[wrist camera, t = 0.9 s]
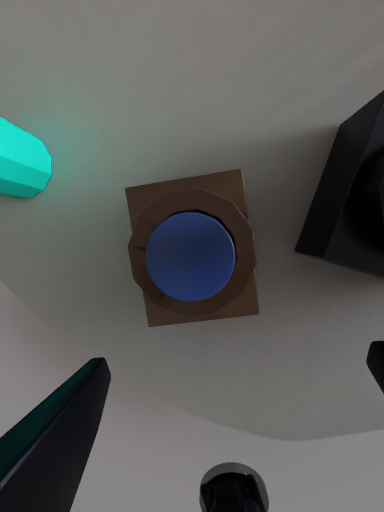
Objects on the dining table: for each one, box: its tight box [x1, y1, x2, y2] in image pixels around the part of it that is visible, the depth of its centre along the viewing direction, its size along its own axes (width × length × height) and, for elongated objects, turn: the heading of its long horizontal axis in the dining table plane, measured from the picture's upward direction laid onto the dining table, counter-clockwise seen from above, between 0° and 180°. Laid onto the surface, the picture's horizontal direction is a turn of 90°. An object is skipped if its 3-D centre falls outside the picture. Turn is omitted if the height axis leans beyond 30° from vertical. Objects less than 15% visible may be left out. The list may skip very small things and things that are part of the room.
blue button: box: [146, 212, 235, 301], centre depth 12 cm, size 5×5×2 cm
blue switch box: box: [125, 169, 259, 327], centre depth 16 cm, size 10×8×6 cm
